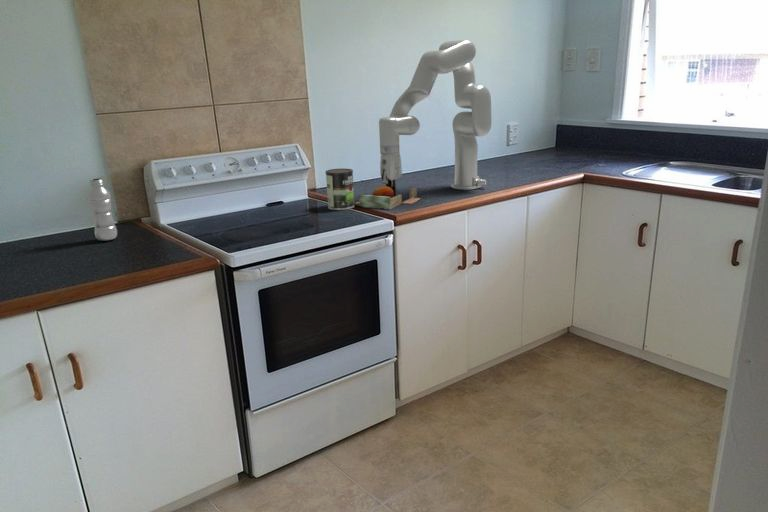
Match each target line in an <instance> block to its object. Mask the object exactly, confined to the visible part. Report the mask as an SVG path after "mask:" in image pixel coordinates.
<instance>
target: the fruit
mask: <svg viewBox="0 0 768 512" xmlns="http://www.w3.org/2000/svg"><path fill="white" fill-rule="evenodd" d="M393 195H394V191H393V189H392V188H390V187H387V186H386V185H382V186H379V187H377V188H376V189H374V190H373V192H372V196H385V197H391V198H393Z"/></svg>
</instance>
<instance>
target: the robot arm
mask: <svg viewBox="0 0 768 512" xmlns="http://www.w3.org/2000/svg"><path fill="white" fill-rule="evenodd" d="M476 49H477V48H476V46H475V44H474V42H472V41H471V40H468V39H463V40H462V39H461V40H450V41H449V40H448V41H445V42H443V43H442V44H440V45H439V48H438V50H431V51H426V52H424V53H423V54H422V56H421V57H420V59H419V62H418V64H417V66H416V69H415V71H414V74H413V76H412V79H411V82H410V84H409V86H408V88H407V89H406V90H404V92H403V93H402V94H401V95H400V96H399V98H397V100H396V101H395V103H394V105H393V107H392V109H391V111H390V113H389V116H384V117H381V118H379V121H378V127H379V128H378V130H379V132H378V133H379V134H378V135H379V152H380V153H379V154H380V162H379V163H380V164H379V168H380V174H379V175H380V179H381V180H382V184H385V186H387V187H390V188H392V189H393V191H394V195H393V197H395V196H397V192H396V189H397V187H396V186H397V180H398V179H400V178H402V176H403V170H402V160H401V158H402V157H401V154H400V152H401V151H400V136H413V135H415V134H417V133H418V132H419V129H420V128H421V127H420V126H421V124H420V120H419V119H418V118H417V117H416V116H413V115H409V113H410V112H411V110H412V109H413V108H414V107H415V106H416V105H417V104H418V103H420V102H422V101H424V100H425V99H426V98H428V97H429V96H430V95H431V93H432V92H431V91H432V90H433V87H434V85H435V82H436V80H437V77H438V75H439V74H440V75H442V74H443V75H444V74H448V73H451V72H452V74H453V85H454V87H453V89H454V101H455V104H456V106H457V107H459V108H461V109H471V111H467V110H466V111H460V112H458V113H457V114H455V116H454V117H453V119H452V131H453V137H454V182H452V183H451V184H450V187H451V188H452V189H454V190H455V189H456V190H461V191H462V190H464V191H465V190H467V191H468V190H469V191H470V190H475V189H476V190H477V189H479V188H481V187H482V186H481V185H485V186H486V185H487V180H486V179H485V178H483V179H481V178H480V176H479V175H478V151H479V150H478V149H479V148H478V147H479V145H478V139H477V138H476V137H479V138H480V137H481V138H482V137H485V136H487V135H488V134H489V133H490V131H491V128H492V96H491V92H490V90H489V88H488V87H486V85H483V84H477V83H476V77H475V75H476V74H475V68H474V66H473V64H472V61H473V60H474V58H475V57H476V54H477V50H476Z"/></svg>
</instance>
